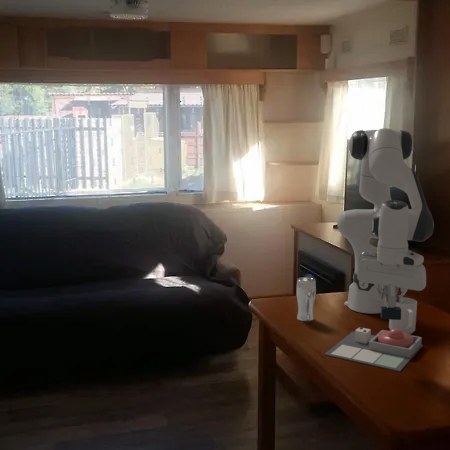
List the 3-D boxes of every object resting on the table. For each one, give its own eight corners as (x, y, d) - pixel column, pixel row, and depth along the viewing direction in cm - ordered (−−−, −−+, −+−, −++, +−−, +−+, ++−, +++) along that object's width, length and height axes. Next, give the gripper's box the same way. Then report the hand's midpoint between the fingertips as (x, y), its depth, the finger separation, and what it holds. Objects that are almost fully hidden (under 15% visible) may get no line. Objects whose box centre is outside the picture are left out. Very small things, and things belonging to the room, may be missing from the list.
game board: (352, 332, 218) (353, 319, 218) (422, 345, 206) (423, 332, 205) (324, 354, 198) (324, 341, 197) (399, 371, 185) (400, 357, 184)
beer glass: (314, 322, 228) (315, 282, 226) (294, 321, 230) (296, 281, 227) (315, 316, 235) (316, 277, 232) (296, 315, 236) (297, 276, 234)
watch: (398, 315, 193) (399, 280, 193) (401, 321, 185) (402, 284, 185) (379, 315, 194) (380, 279, 193) (382, 320, 186) (383, 283, 186)
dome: (384, 337, 211) (384, 321, 210) (417, 343, 205) (418, 327, 204) (373, 347, 202) (374, 330, 201) (407, 354, 196) (408, 337, 195)
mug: (385, 327, 224) (386, 297, 222) (409, 326, 224) (411, 296, 222) (397, 339, 212) (398, 307, 210) (422, 338, 213) (424, 307, 211)
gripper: (355, 252, 190) (353, 297, 192) (423, 261, 179) (420, 308, 182) (362, 249, 195) (360, 292, 198) (429, 257, 185) (426, 303, 187)
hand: (389, 300), depth 190 cm, fingers closed on watch, 4 cm apart
